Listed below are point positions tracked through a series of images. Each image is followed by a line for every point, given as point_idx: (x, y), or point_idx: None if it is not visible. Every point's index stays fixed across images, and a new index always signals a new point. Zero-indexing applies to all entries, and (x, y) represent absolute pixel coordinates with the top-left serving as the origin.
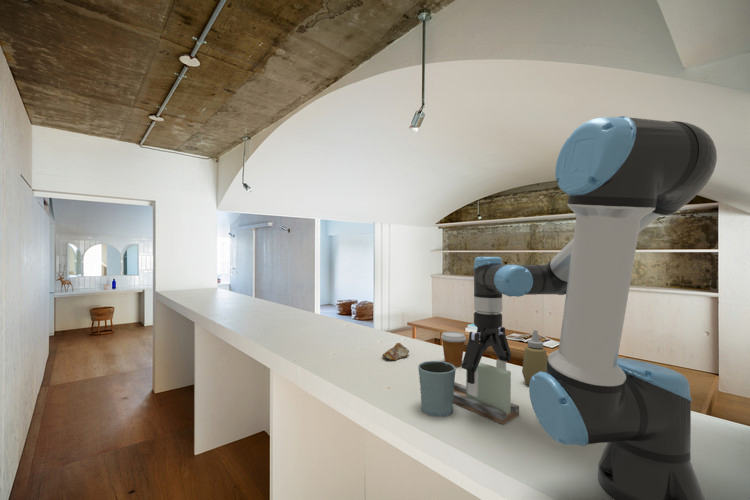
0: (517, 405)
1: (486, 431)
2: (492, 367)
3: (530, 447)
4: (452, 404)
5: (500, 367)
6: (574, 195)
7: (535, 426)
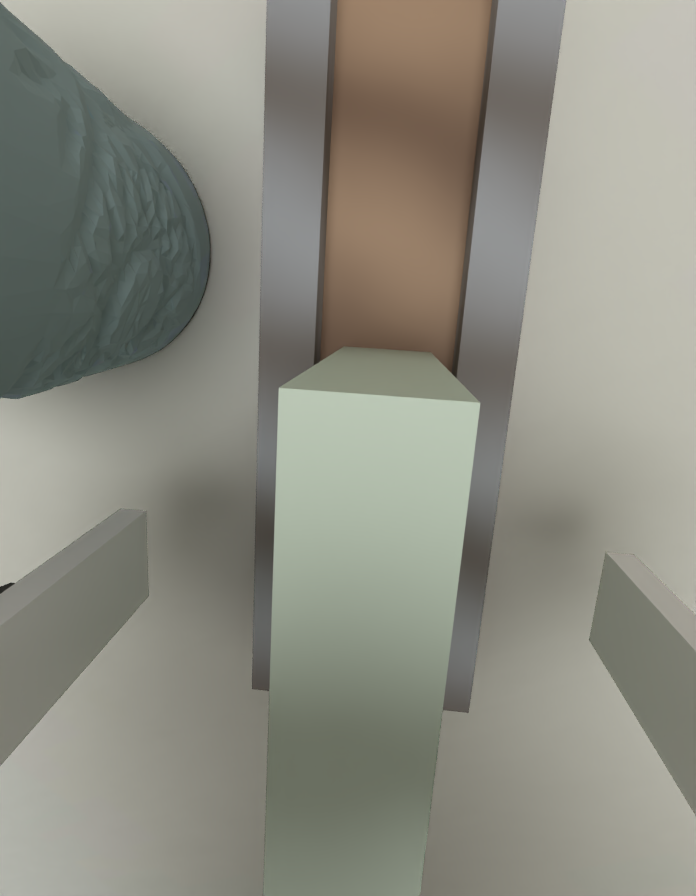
0: (465, 703)
1: (126, 623)
2: (369, 795)
3: (169, 815)
4: (122, 362)
5: (685, 714)
6: None
7: None
